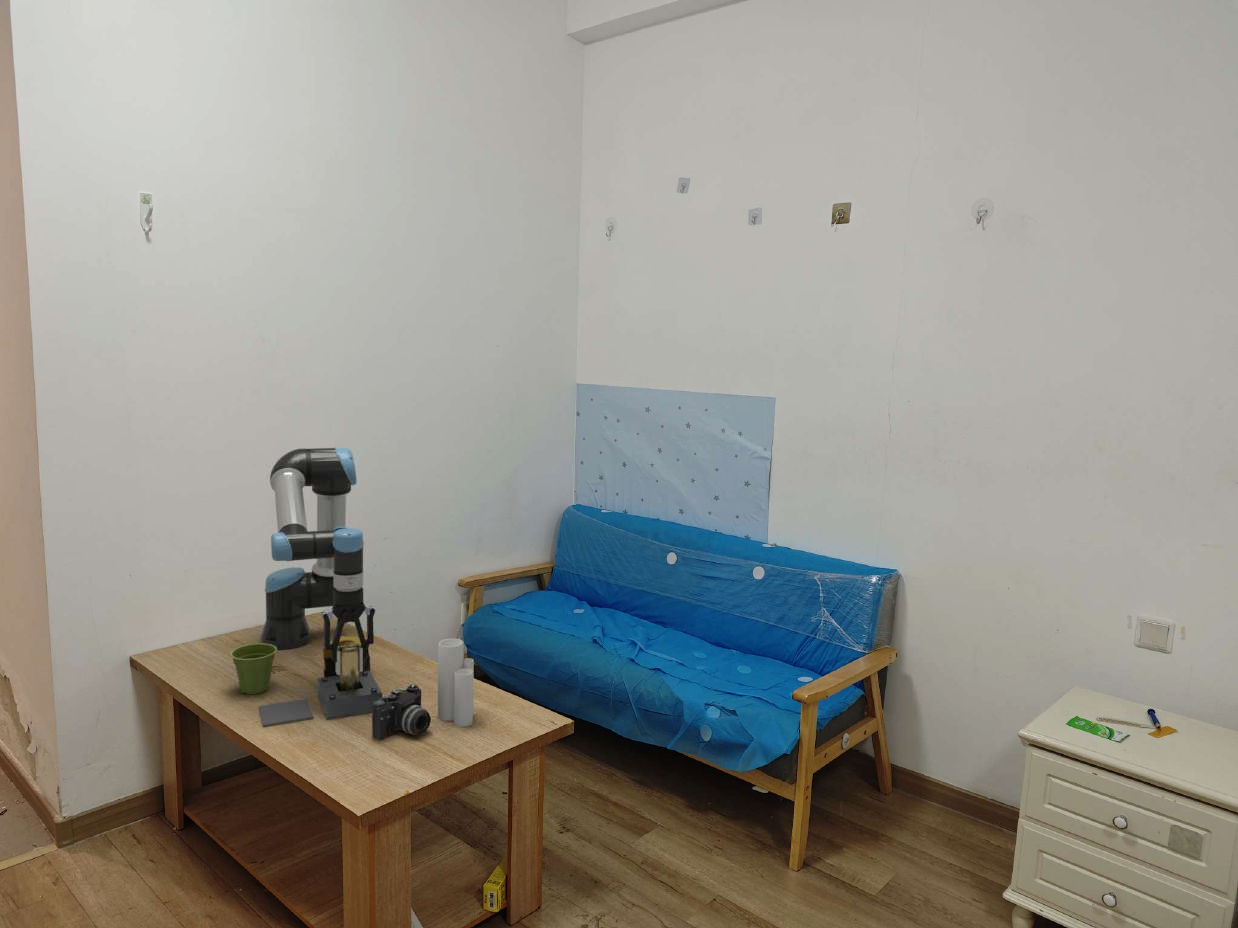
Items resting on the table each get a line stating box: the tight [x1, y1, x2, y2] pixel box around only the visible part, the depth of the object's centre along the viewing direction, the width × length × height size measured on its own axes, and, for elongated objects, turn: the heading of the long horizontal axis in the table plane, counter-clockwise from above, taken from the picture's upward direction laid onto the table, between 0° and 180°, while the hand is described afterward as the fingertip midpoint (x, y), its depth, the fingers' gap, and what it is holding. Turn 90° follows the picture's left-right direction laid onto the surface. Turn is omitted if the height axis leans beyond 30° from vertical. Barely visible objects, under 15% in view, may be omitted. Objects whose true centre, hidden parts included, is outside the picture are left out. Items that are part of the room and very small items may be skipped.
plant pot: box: [229, 642, 278, 695], centre depth 228 cm, size 12×12×11 cm
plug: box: [339, 642, 359, 692], centre depth 221 cm, size 5×5×14 cm
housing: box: [316, 670, 383, 720], centre depth 222 cm, size 16×14×6 cm
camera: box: [371, 683, 432, 741], centre depth 206 cm, size 14×11×10 cm
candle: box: [322, 635, 371, 677], centre depth 240 cm, size 10×10×10 cm
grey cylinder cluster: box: [437, 638, 475, 728], centre depth 215 cm, size 11×7×20 cm, turn 59°
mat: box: [258, 698, 314, 728], centre depth 215 cm, size 12×12×1 cm
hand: (349, 671), depth 221 cm, fingers closed on plug, 5 cm apart
